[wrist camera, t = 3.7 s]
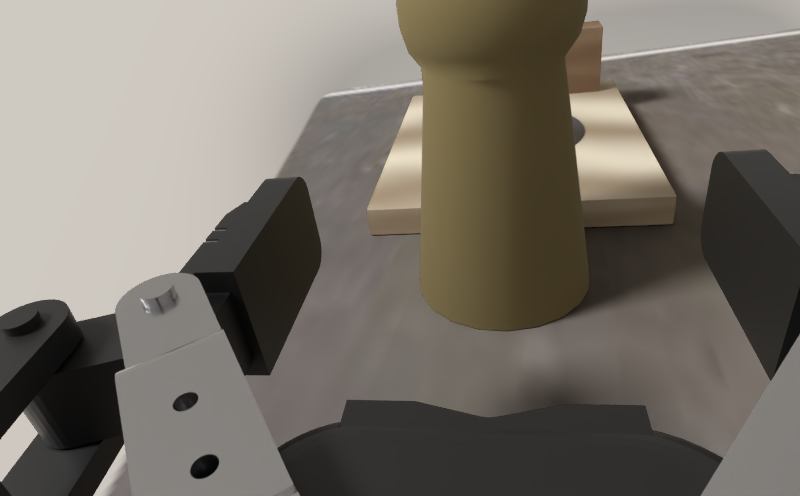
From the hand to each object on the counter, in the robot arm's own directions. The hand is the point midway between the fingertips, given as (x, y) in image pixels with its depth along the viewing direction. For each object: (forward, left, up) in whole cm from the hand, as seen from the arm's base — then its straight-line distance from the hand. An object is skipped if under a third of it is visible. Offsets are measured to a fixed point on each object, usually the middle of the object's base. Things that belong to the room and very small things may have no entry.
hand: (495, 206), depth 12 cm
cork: (+4, -5, -7) cm, 9 cm away
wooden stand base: (+11, -14, -7) cm, 19 cm away
